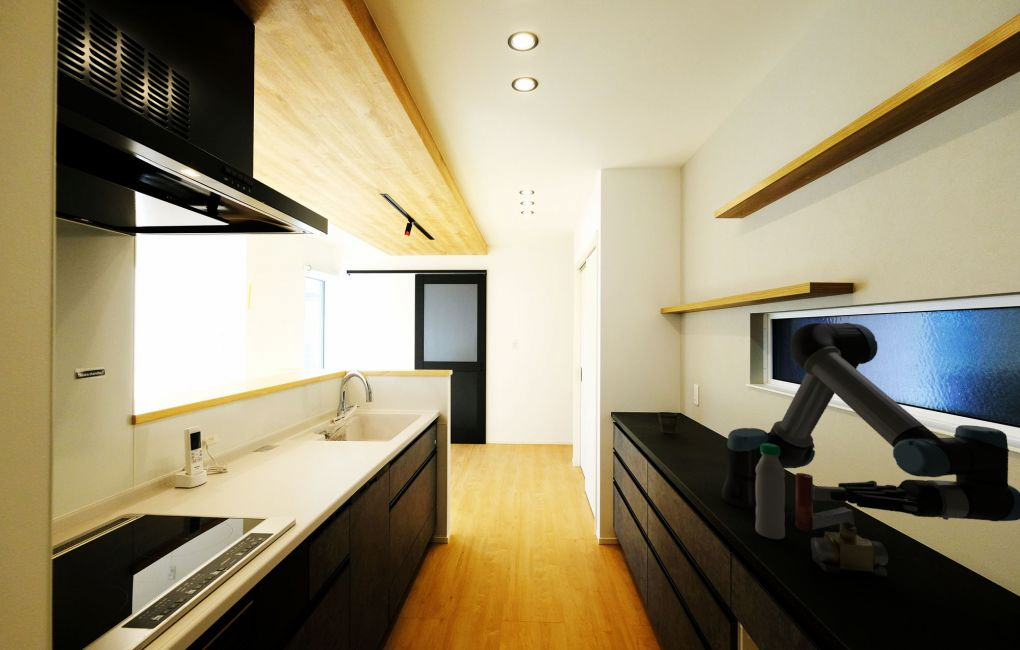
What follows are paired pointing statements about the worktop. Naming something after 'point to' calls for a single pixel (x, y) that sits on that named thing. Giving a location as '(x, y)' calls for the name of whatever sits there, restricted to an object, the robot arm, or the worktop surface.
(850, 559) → the valve body
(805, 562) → the worktop surface
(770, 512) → the water bottle
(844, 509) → the valve lever
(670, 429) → the ceramic cup
